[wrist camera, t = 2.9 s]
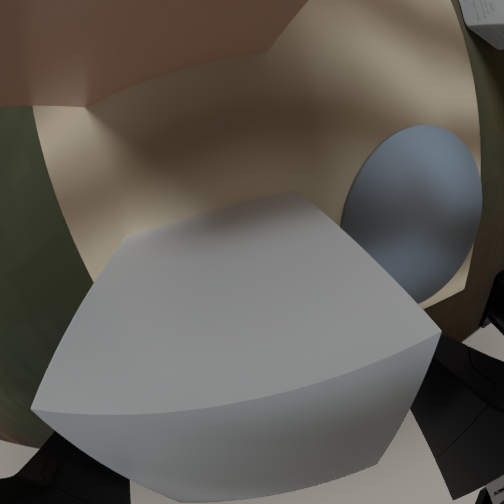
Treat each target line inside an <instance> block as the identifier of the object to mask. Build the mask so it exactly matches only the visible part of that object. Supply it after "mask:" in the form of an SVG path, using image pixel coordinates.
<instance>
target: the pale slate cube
mask: <svg viewBox="0 0 504 504" xmlns="http://www.w3.org/2000/svg"><path fill="white" fill-rule="evenodd" d="M441 332H442V331H441V330H440V328H439V327H438V326H437V325H436V324H435V323H434V322H433V320H432V319H431V318H430V317H429V316H428V315H427V314H426V313H425V311H424V310H423V309H422V308H421V307H420V306H419V305H418V304H417V303H416V302H415V301H414V300H413V298H412V297H411V296H410V295H409V294H408V293H407V292H406V291H405V290H404V289H403V288H402V287H401V286H400V285H399V284H398V283H397V282H396V281H395V280H394V279H393V278H392V277H391V276H390V275H389V274H388V273H387V272H386V271H385V270H384V269H383V268H382V267H381V266H380V265H379V264H378V263H377V262H376V261H375V260H374V259H373V258H372V257H371V256H370V255H369V254H368V253H367V252H366V251H365V250H364V249H363V248H362V247H361V246H360V245H359V244H358V243H357V242H355V241H354V240H353V239H352V238H351V237H350V236H349V235H348V234H347V233H346V232H345V231H344V230H342V229H341V228H340V227H339V226H338V225H337V224H336V223H335V222H334V221H332V220H331V219H330V218H329V217H328V216H327V215H326V214H325V213H323V212H322V211H321V210H320V209H319V208H318V207H316V206H315V205H314V204H313V203H312V202H311V201H309V200H308V199H307V198H306V197H305V196H304V195H302V194H301V193H300V192H299V191H298V190H296V191H291V192H287V193H282V194H278V195H274V196H269V197H265V198H261V199H257V200H253V201H249V202H245V203H241V204H237V205H233V206H229V207H225V208H221V209H217V210H214V211H210V212H206V213H202V214H199V215H195V216H192V217H188V218H184V219H181V220H177V221H174V222H171V223H167V224H164V225H160V226H157V227H154V228H150V229H147V230H144V231H140V232H137V233H134V234H131V235H128V236H125V237H124V239H123V240H122V242H121V243H120V245H119V246H118V247H117V249H116V250H115V252H114V253H113V255H112V256H111V258H110V259H109V261H108V262H107V264H106V265H105V267H104V268H103V270H102V271H101V273H100V274H99V276H98V277H97V279H96V281H95V282H94V284H93V285H92V287H91V289H90V290H89V292H88V293H87V295H86V297H85V298H84V300H83V302H82V304H81V305H80V307H79V309H78V310H77V312H76V314H75V316H74V317H73V319H72V321H71V323H70V325H69V327H68V328H67V330H66V332H65V334H64V336H63V338H62V340H61V342H60V344H59V346H58V348H57V350H56V352H55V354H54V356H53V358H52V360H51V362H50V364H49V366H48V368H47V371H46V373H45V375H44V377H43V379H42V382H41V384H40V386H39V389H38V391H37V394H36V396H35V399H34V401H33V404H32V406H31V410H32V411H33V412H34V413H35V414H37V415H38V416H39V417H40V418H41V419H42V420H43V421H44V422H46V423H47V424H48V425H49V426H50V427H52V428H53V429H54V430H55V431H56V432H58V433H59V434H60V435H62V436H63V437H64V438H65V439H67V440H68V441H69V442H71V443H72V444H73V445H75V446H76V447H78V448H79V449H80V450H82V451H83V452H85V453H86V454H88V455H89V456H91V457H92V458H94V459H95V460H97V461H99V462H100V463H102V464H103V465H105V466H107V467H108V468H110V469H112V470H113V471H115V472H117V473H119V474H120V475H122V476H124V477H126V478H128V479H130V480H132V481H134V482H136V483H137V484H139V485H142V486H144V487H146V488H148V489H150V490H152V491H154V492H156V493H159V494H161V495H164V496H166V497H168V498H171V499H173V500H176V501H178V502H219V501H233V500H242V499H250V498H257V497H264V496H271V495H276V494H281V493H286V492H291V491H295V490H300V489H304V488H308V487H312V486H315V485H319V484H322V483H326V482H329V481H332V480H335V479H339V478H341V477H345V476H347V475H350V474H353V473H356V472H358V471H361V470H364V469H366V468H369V467H371V466H373V465H376V464H377V463H378V461H379V460H380V458H381V457H382V455H383V454H384V452H385V451H386V449H387V447H388V446H389V444H390V443H391V441H392V439H393V438H394V436H395V434H396V433H397V431H398V429H399V427H400V426H401V424H402V422H403V420H404V418H405V416H406V414H407V413H408V411H409V409H410V407H411V405H412V403H413V401H414V399H415V397H416V395H417V392H418V390H419V388H420V386H421V384H422V381H423V379H424V377H425V375H426V372H427V370H428V367H429V365H430V362H431V360H432V357H433V355H434V352H435V349H436V346H437V344H438V341H439V338H440V335H441Z"/></svg>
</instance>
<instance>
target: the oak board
mask: <svg viewBox="0 0 504 504" xmlns="http://www.w3.org/2000/svg"><path fill="white" fill-rule="evenodd" d="M33 111H34V116H35V121H36V126H37V131H38V135H39V139H40V143H41V147H42V151H43V155H44V159H45V162H46V166H47V169H48V172H49V176H50V179H51V182H52V185H53V188H54V191H55V194H56V197H57V199H58V202H59V205H60V208H61V210H62V213H63V215H64V218H65V221H66V223H67V226H68V228H69V230H70V233H71V235H72V237H73V240H74V242H75V244H76V246H77V249H78V251H79V253H80V255H81V257H82V259H83V262H84V264H85V266H86V268H87V270H88V272H89V274H90V276H91V278H92V280H93V281H94V282H95V281H96V279H97V277H98V276H99V274H100V273H101V271H102V270H103V268H104V267H105V265H106V264H107V262H108V261H109V259H110V258H111V256H112V255H113V253H114V252H115V250H116V249H117V247H118V246H119V245H120V243H121V242H122V240H123V239H124V237H125V236H128V235H131V234H134V233H137V232H140V231H144V230H147V229H150V228H154V227H157V226H160V225H164V224H167V223H171V222H174V221H177V220H181V219H184V218H188V217H192V216H195V215H199V214H202V213H206V212H210V211H214V210H217V209H221V208H225V207H229V206H233V205H237V204H241V203H245V202H249V201H253V200H257V199H261V198H265V197H269V196H274V195H278V194H282V193H287V192H291V191H296V190H298V191H299V192H300V193H301V194H302V195H304V196H305V197H306V198H307V199H308V200H309V201H311V202H312V203H313V204H314V205H315V206H316V207H318V208H319V209H320V210H321V211H322V212H323V213H325V214H326V215H327V216H328V217H329V218H330V219H331V220H332V221H334V222H335V223H336V224H337V225H338V226H339V227H340V228H341V229H342V230H344V231H345V232H346V233H347V234H348V235H349V236H350V237H351V238H352V239H353V240H354V241H355V242H357V243H358V244H359V245H360V246H361V247H362V248H363V249H364V250H365V251H366V252H367V253H368V254H369V255H370V256H371V257H372V258H373V259H374V260H375V261H376V262H377V263H378V264H379V265H380V266H381V267H382V268H383V269H384V270H385V271H386V272H387V273H388V274H389V275H390V276H391V277H392V278H393V279H394V280H395V281H396V282H397V283H398V284H399V285H400V286H401V287H402V288H403V289H404V290H405V291H406V292H407V293H408V294H409V295H410V296H411V297H412V298H413V300H414V301H415V302H416V303H417V304H418V305H419V306H420V307H421V308H422V309H425V308H427V307H429V306H431V305H433V304H435V303H437V302H439V301H441V300H444V299H446V298H448V297H450V296H452V295H453V294H455V293H457V292H459V291H461V290H463V289H464V287H465V284H466V279H467V275H468V271H469V266H470V261H471V256H472V251H473V245H474V240H475V238H476V234H477V231H478V227H479V223H480V218H481V211H482V186H481V179H480V171H481V153H480V130H479V117H478V108H477V100H476V93H475V87H474V81H473V75H472V70H471V66H470V61H469V57H468V53H467V49H466V45H465V41H464V38H463V35H462V31H461V28H460V25H459V22H458V19H457V16H456V13H455V11H454V8H453V5H452V3H451V0H309V1H308V2H307V3H306V4H305V5H304V7H303V8H302V9H301V10H300V11H299V12H298V14H297V15H296V16H295V17H294V18H293V20H292V21H291V22H290V23H289V25H288V26H287V27H286V28H285V30H284V31H283V32H282V33H281V35H280V36H279V37H278V38H277V40H276V41H275V42H274V44H273V45H272V46H271V48H270V49H269V50H268V52H260V53H254V54H247V55H241V56H236V57H231V58H225V59H221V60H216V61H212V62H207V63H203V64H199V65H195V66H192V67H188V68H184V69H181V70H178V71H174V72H171V73H168V74H165V75H162V76H159V77H156V78H153V79H150V80H147V81H144V82H142V83H139V84H136V85H134V86H131V87H129V88H126V89H124V90H121V91H119V92H117V93H114V94H112V95H110V96H108V97H105V98H103V99H101V100H99V101H97V102H95V103H93V104H91V105H89V106H87V107H69V106H33Z"/></svg>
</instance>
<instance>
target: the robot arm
mask: <svg viewBox="0 0 504 504" xmlns="http://www.w3.org/2000/svg"><path fill="white" fill-rule="evenodd" d="M490 323H492V324H493V325H494V326H495V327H496V328H497V329H498V330H499V331H500V332H501V333H502V334H503V335H504V271H502V272H500V273H499V274H498V275H497V277H496V280H495V284H494V287H493V290H492V293H491V296H490V299H489V302H488V305H487V308H486V311H485V314H484V316H483V319H482V321H481V324H480V326H481V327H482V328H484V327H486V326H487V325H488V324H490ZM410 410H411V411H412V413H413V415H414V417H415V419H416V421H417V423H418V425H419V427H420V429H421V431H422V433H423V435H424V437H425V439H426V441H427V443H428V445H429V447H430V449H431V451H432V454H433V456H434V458H435V460H436V463H437V465H438V467H439V469H440V471H441V473H442V476H443V478H444V480H445V483H446V485H447V487H448V490H449V492H450V495H451V497H452V499H453V500H455V499H458V498H460V497H462V496H464V495H466V494H469V493H471V492H473V491H475V490H477V489H479V488H481V487H483V486H485V487H484V488H483V489H482V490H480V492H479V495H478V498H477V500H476V503H475V504H504V362H503V361H501V360H498V359H495V358H493V357H490V356H488V355H486V354H484V353H482V352H479V351H477V350H475V349H473V348H471V347H468V346H467V345H465V344H463V343H461V342H459V341H457V340H455V339H453V338H451V337H449V336H446V335H444V334H442V333H441V335H440V338H439V341H438V344H437V346H436V349H435V352H434V355H433V357H432V360H431V362H430V365H429V367H428V370H427V372H426V375H425V377H424V379H423V381H422V384H421V386H420V388H419V390H418V392H417V395H416V397H415V399H414V401H413V403H412V405H411V407H410ZM130 501H131V500H130V479H128V478H126V477H124V476H122V475H120V474H119V473H117V472H115V471H113V470H112V469H110V468H108V467H107V466H105V465H103V464H102V463H100V462H99V461H97V460H95V459H94V458H92V457H91V456H89V455H88V454H86V453H85V452H83V451H82V450H80V449H79V448H78V447H76V446H75V445H73V444H72V443H71V442H69V441H68V440H67V439H65V438H64V437H63V436H62V435H60V434H59V433H58V432H56V431H54V433H53V435H51V436H50V437H49V439H48V440H47V441H46V442H45V444H44V445H43V446H42V447H41V448H40V450H39V451H38V452H37V453H36V454H35V455H34V456H33V457H32V458H31V459H30V460H29V461H28V463H27V464H26V465H25V466H24V467H23V468H22V469H21V470H20V471H19V472H18V473H17V474H15V475H14V476H12V477H8V478H3V479H0V504H131V502H130Z"/></svg>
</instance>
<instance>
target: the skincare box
mask: <svg viewBox="0 0 504 504" xmlns="http://www.w3.org/2000/svg"><path fill="white" fill-rule="evenodd" d="M459 2H460V6H461V9H462V14H463V18H464V21H465V24H466V26H467V27H468V28H469V29H470V30H472V31H473V32H474V33H476V34H477V35H478V36H480V37H481V38H482V39H484V40H485V41H486V42H488V43H489V44H490V45H492V46H493V47H495V48H496V49H498V50H504V0H459Z"/></svg>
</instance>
